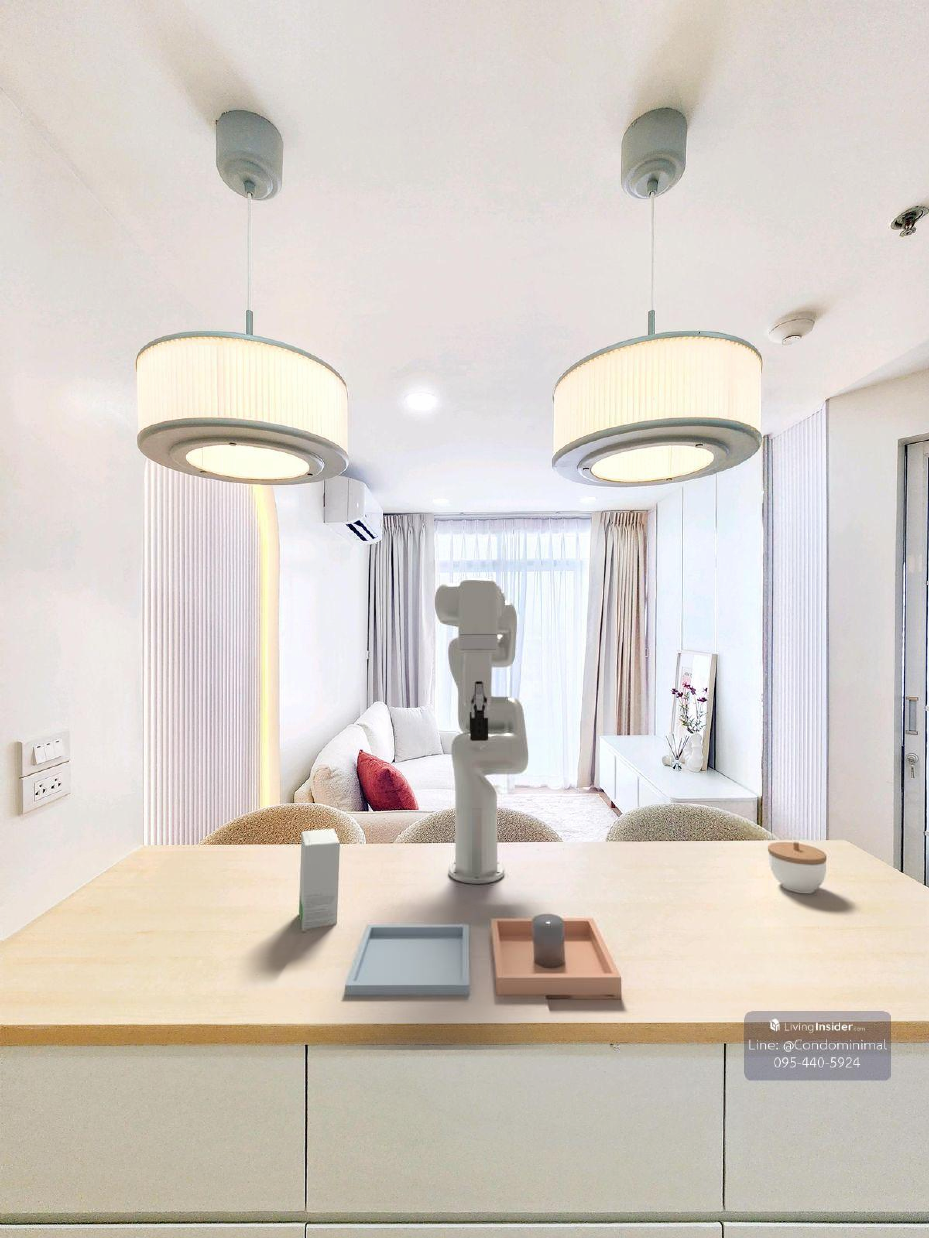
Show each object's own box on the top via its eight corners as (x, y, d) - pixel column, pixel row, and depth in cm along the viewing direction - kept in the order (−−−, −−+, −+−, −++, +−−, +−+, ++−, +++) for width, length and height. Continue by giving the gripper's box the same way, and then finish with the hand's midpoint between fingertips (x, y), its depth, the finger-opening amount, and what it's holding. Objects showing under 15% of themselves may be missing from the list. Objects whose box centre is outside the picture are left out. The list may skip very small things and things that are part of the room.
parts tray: (366, 936, 99) (366, 924, 99) (468, 935, 99) (468, 924, 99) (344, 999, 81) (345, 985, 81) (469, 999, 81) (469, 984, 81)
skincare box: (298, 913, 108) (299, 830, 109) (333, 907, 110) (334, 826, 111) (302, 933, 100) (303, 844, 101) (339, 927, 102) (340, 840, 103)
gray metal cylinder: (533, 950, 93) (532, 913, 93) (564, 951, 93) (562, 913, 93) (534, 967, 88) (532, 928, 88) (566, 968, 88) (564, 929, 88)
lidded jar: (811, 878, 124) (809, 834, 124) (838, 899, 113) (836, 852, 114) (760, 876, 125) (759, 833, 126) (783, 897, 114) (781, 850, 115)
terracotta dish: (491, 935, 99) (491, 918, 99) (593, 935, 99) (592, 918, 99) (497, 998, 81) (497, 977, 81) (621, 998, 81) (621, 977, 81)
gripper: (458, 645, 115) (458, 729, 114) (457, 644, 97) (457, 744, 96) (495, 645, 115) (495, 729, 114) (500, 644, 97) (501, 743, 96)
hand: (478, 736), depth 105 cm, fingers open, 9 cm apart
